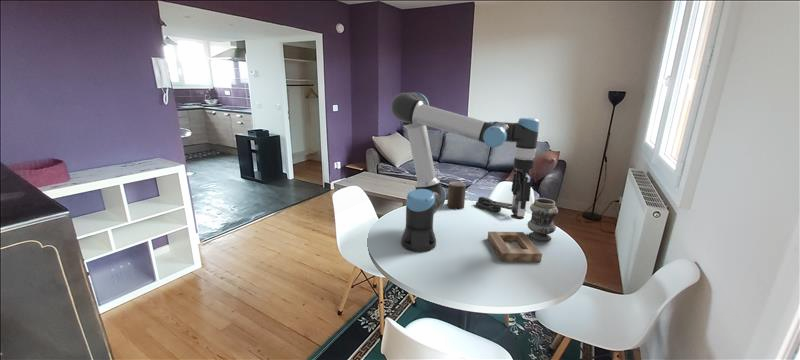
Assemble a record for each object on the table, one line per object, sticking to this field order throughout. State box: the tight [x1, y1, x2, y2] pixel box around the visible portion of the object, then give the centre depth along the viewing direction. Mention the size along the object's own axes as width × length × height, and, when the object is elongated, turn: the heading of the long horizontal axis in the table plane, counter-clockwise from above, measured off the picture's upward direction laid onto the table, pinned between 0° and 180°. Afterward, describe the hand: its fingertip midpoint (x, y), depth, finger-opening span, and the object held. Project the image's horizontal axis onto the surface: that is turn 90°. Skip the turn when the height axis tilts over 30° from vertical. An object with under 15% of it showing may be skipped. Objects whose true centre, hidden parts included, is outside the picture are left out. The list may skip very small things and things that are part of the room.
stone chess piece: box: [510, 191, 527, 220], centre depth 135 cm, size 6×6×12 cm
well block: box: [487, 231, 543, 263], centre depth 141 cm, size 16×20×4 cm
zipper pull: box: [475, 196, 512, 214], centre depth 184 cm, size 9×7×25 cm
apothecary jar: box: [526, 197, 559, 243], centre depth 151 cm, size 12×12×18 cm
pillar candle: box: [446, 181, 467, 211], centre depth 188 cm, size 10×10×15 cm
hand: (517, 212), depth 136 cm, fingers closed on stone chess piece, 6 cm apart
